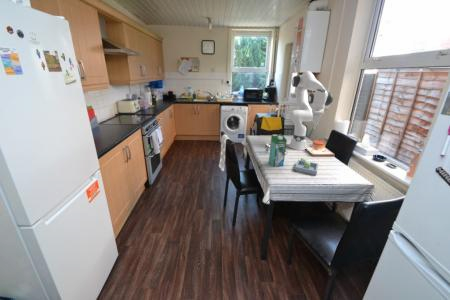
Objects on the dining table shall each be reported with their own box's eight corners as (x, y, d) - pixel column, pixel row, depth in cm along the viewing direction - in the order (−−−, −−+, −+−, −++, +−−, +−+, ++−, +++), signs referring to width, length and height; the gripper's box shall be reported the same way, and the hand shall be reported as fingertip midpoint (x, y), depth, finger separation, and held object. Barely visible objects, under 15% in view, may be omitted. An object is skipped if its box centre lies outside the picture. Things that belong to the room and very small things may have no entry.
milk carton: (273, 167, 168) (277, 137, 159) (268, 162, 176) (271, 134, 167) (283, 166, 170) (287, 137, 162) (277, 161, 179) (281, 133, 170)
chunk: (300, 161, 180) (301, 157, 178) (305, 162, 178) (306, 158, 176) (299, 163, 176) (300, 159, 175) (305, 164, 174) (306, 160, 173)
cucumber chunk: (304, 166, 169) (305, 161, 167) (309, 168, 167) (310, 162, 165) (303, 168, 165) (304, 162, 163) (308, 169, 163) (310, 164, 161)
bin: (297, 163, 176) (298, 159, 175) (317, 167, 169) (318, 163, 168) (294, 170, 163) (295, 166, 161) (316, 175, 156) (317, 171, 155)
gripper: (314, 108, 172) (311, 124, 177) (312, 112, 155) (309, 130, 159) (322, 109, 169) (319, 125, 174) (321, 113, 152) (318, 131, 157)
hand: (314, 127), depth 167 cm, fingers open, 8 cm apart
